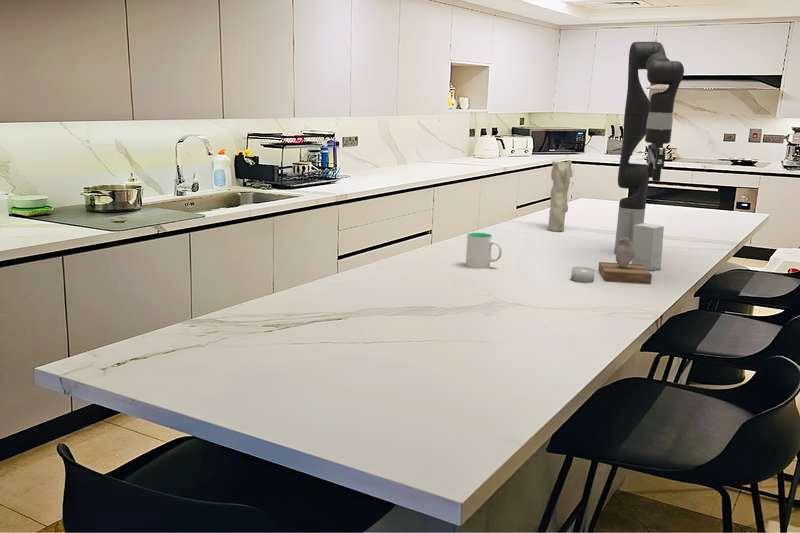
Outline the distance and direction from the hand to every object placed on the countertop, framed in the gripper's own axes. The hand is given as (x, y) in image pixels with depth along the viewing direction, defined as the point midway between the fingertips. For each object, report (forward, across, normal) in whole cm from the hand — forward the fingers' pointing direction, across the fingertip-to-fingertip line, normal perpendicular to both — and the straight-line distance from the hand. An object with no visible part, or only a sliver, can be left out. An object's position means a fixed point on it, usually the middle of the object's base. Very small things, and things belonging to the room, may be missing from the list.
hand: (653, 179), depth 233 cm
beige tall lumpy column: (+33, -74, -22) cm, 84 cm away
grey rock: (+28, +4, -7) cm, 30 cm away
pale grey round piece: (+31, +12, -21) cm, 39 cm away
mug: (+31, +1, -52) cm, 60 cm away
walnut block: (+31, +4, -7) cm, 32 cm away
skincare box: (+32, -12, +3) cm, 34 cm away
